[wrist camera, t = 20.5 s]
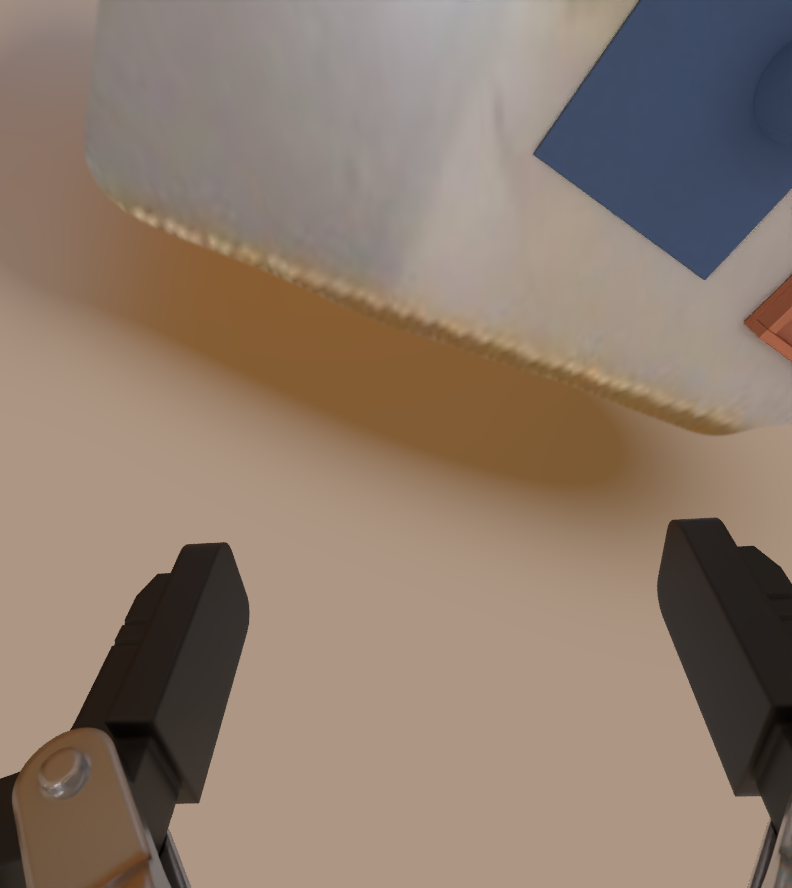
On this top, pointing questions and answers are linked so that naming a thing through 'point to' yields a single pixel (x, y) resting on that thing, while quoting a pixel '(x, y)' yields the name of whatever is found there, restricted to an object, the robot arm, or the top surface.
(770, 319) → the terracotta tray
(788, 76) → the blue cylinder
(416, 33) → the top surface
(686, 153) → the blue mat
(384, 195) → the top surface
